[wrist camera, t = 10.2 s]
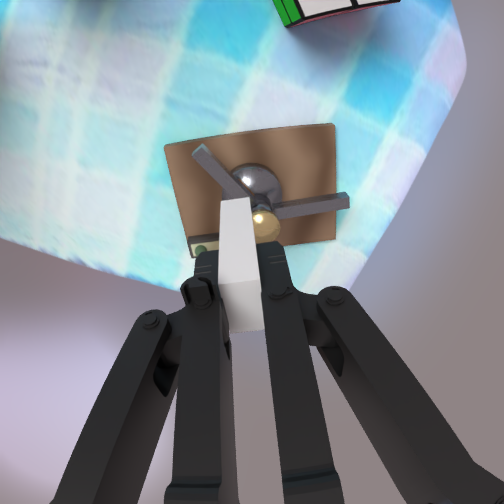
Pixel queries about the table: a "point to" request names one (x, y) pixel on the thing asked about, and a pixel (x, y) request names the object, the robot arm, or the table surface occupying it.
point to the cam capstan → (264, 194)
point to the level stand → (266, 153)
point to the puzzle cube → (320, 9)
